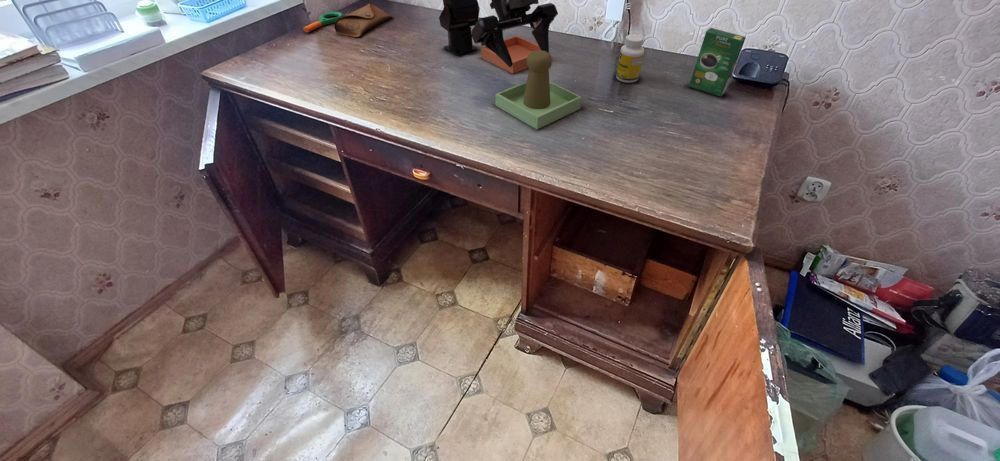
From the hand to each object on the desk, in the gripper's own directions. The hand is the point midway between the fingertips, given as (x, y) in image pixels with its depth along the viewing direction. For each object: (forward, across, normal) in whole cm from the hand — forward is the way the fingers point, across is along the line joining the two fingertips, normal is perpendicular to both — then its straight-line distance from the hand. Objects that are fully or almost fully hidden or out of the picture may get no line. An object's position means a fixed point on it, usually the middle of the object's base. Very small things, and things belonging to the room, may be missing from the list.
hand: (529, 61), depth 99 cm
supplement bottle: (+9, +26, +4) cm, 28 cm away
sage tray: (+9, 0, +3) cm, 10 cm away
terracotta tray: (-8, +9, +20) cm, 24 cm away
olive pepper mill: (+8, 0, +4) cm, 9 cm away
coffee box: (+19, +38, -7) cm, 43 cm away
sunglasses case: (-38, -15, +51) cm, 65 cm away
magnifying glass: (-43, -26, +56) cm, 76 cm away
